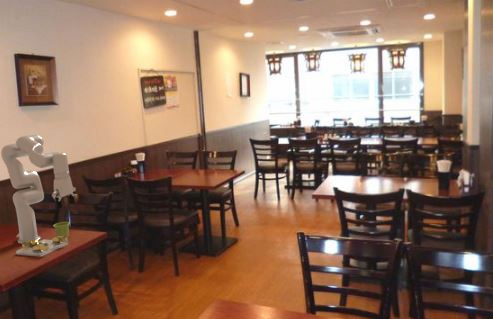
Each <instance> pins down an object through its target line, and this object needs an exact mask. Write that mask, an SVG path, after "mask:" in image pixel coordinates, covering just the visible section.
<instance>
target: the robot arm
mask: <svg viewBox="0 0 493 319" xmlns="http://www.w3.org/2000/svg"><path fill="white" fill-rule="evenodd" d="M0 154H1V159H2V161H3V162H4V164H5V167H6V168H7V173H8V177H9V180H10V183H11V185H12V188H14V189H15V190H18V189H21V190H18V191H16V192H15V193H14V194H13V195H12V203H13V205H14V206H15V212H16V218H17V225H18V231H19V232H18V234H17V235H16V238H18V239H17V243H18V244H21V245H22V243H23V242H27V241H29V240H38V241H41V240H42V238H41V236H40V235H38V230H37V222H36V216H35V211H34V209H33V208H32V207H31V206H30V205H33V204H37V203H40V202H42V201H43V200H44V199H45V195H44V194H45V192H44V190H43V185H42V182H41V178H40V175H39V174H38V172H37V171H35V170H25V169H24V165H23V164H22V163H23V162H21V161H20V160H19V159H17V158H24V157H28V160H29V162H30V163H31V164H32V165H34V166H35V167H37V168H40V169H43V168H44V169H45V168H49V167H52V168H53V174H54V180H53V192H52V194H51V197H52V198H53V200H54V201H55V203H56V208H57V209H62V208H63V203H62V198H64V197H67V196H68V202H69V204H72V205H74V204H75V202H76V201H75V196H76V195H75V194H76V189H77V188H76V187H74V186H73V182H72V178H71V176H70V170H69V169H70V168H69V161H68V155H67V153H65V152H58V151H57V152H55V151H54V152H47V153H44V140H43V138H42V137H41V136H40V135H38V134H31V135H24V136H23V135H22V136H20V137H18V138H17V139H16V141H15V143H10V144H7V145H4V146H3V147H2V149H1V152H0ZM29 187H30V188H29ZM24 188H26V189H24Z"/></svg>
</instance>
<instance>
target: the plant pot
mask: <svg viewBox="0 0 493 319" xmlns="http://www.w3.org/2000/svg"><path fill="white" fill-rule="evenodd" d="M70 224H71V223H70V221H62V222H57V223H55V224H53V226H52V227H53V228H54V230H55V234H56V237H58V236H67V238H68V237H69V236H70V235H69V234H70V232H69V229H70V228H69V227H70Z"/></svg>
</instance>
